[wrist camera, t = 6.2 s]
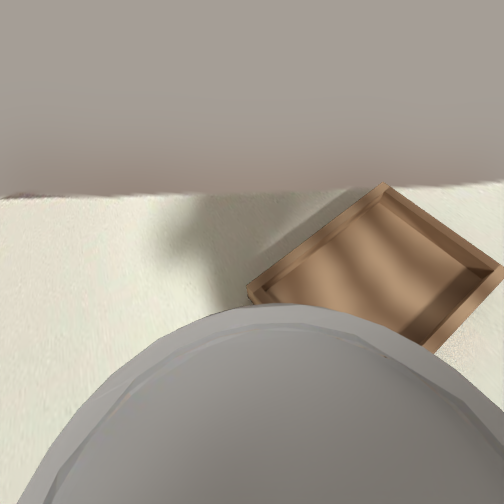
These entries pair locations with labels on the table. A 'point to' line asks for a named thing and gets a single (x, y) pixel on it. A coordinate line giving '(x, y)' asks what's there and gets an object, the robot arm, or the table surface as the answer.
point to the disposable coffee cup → (279, 420)
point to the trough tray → (385, 270)
